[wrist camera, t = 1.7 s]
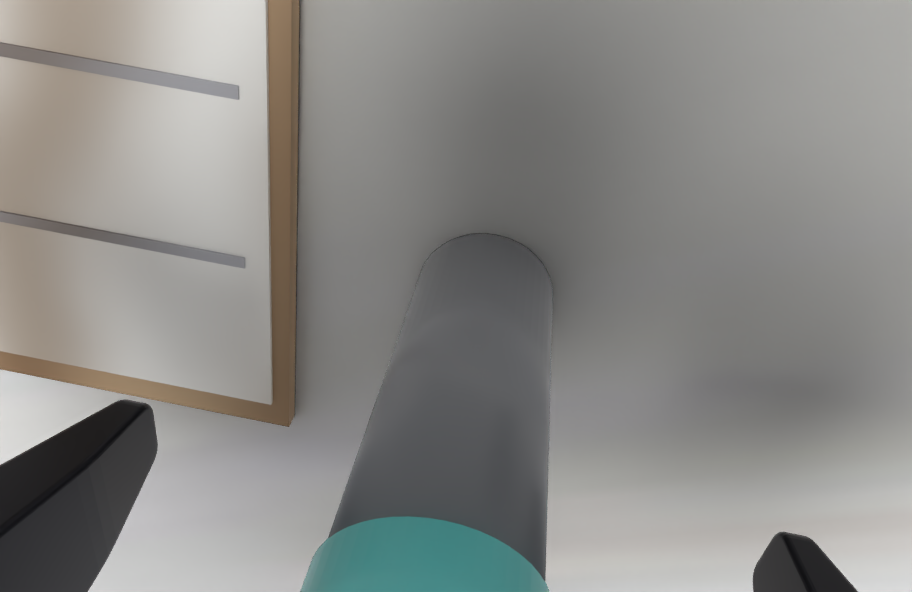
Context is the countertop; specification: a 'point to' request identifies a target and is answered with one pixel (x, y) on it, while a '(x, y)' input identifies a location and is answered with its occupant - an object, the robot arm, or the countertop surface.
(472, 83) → the countertop surface
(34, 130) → the clipboard
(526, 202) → the countertop surface
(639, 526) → the countertop surface
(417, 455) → the marker
